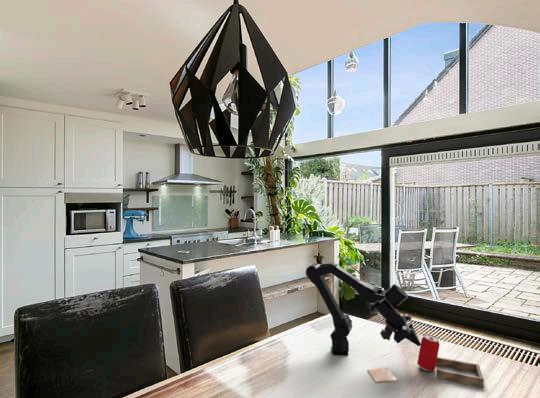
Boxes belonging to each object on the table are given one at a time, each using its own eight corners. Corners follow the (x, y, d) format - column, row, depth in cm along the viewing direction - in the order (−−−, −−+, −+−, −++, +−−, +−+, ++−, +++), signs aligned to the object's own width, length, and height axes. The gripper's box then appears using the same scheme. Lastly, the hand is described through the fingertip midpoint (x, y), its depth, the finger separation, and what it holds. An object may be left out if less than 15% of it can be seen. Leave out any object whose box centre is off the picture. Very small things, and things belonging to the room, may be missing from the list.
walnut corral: (436, 378, 118) (436, 369, 118) (435, 364, 128) (435, 356, 128) (483, 387, 112) (483, 379, 112) (478, 372, 122) (478, 364, 122)
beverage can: (433, 366, 127) (439, 336, 126) (435, 374, 121) (441, 343, 120) (416, 360, 129) (421, 331, 128) (417, 369, 123) (423, 338, 122)
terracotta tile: (375, 384, 116) (375, 381, 116) (367, 372, 124) (367, 369, 124) (397, 382, 116) (397, 380, 116) (387, 371, 124) (387, 368, 124)
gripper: (377, 317, 141) (405, 347, 136) (371, 333, 124) (402, 368, 119) (396, 301, 138) (425, 331, 133) (392, 316, 121) (426, 351, 116)
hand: (419, 345), depth 126 cm, fingers closed
